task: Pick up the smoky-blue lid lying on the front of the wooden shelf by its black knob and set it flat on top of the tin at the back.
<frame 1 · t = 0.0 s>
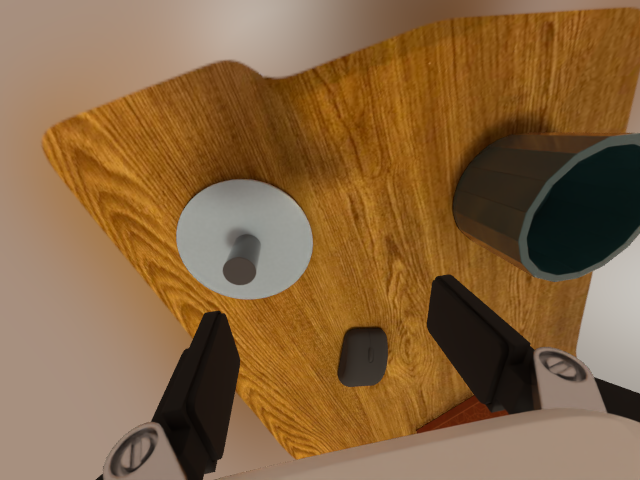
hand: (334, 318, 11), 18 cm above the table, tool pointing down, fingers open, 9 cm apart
tin: (504, 192, 30), on the table
book: (470, 408, 50), on the table
lid: (248, 243, 28), point 1 cm above the table
computer mouse: (359, 353, 39), on the table
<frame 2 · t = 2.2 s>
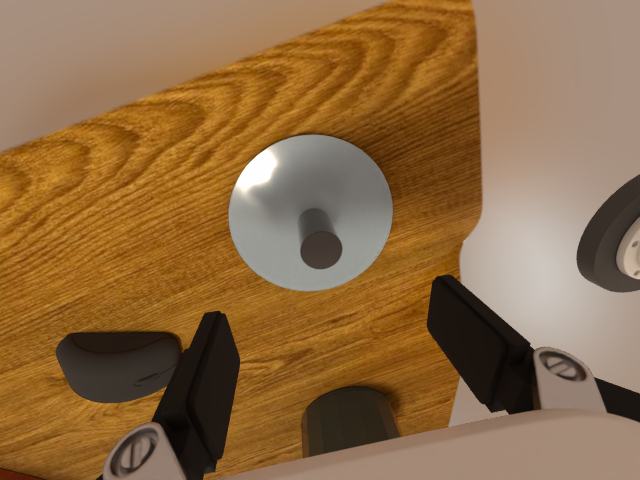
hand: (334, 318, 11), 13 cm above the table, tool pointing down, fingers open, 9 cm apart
tin: (346, 416, 36), on the table
lid: (313, 221, 22), point 1 cm above the table
computer mouse: (128, 352, 27), on the table
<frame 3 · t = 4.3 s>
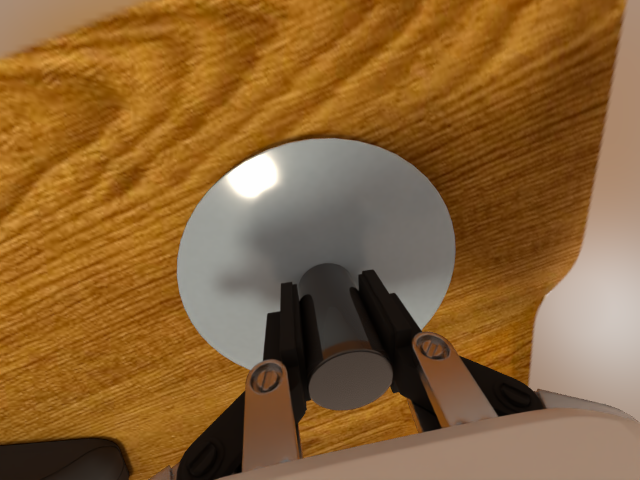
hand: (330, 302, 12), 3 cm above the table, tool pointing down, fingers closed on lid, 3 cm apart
lid: (324, 280, 14), point 1 cm above the table, touching gripper
computer mouse: (44, 465, 18), on the table
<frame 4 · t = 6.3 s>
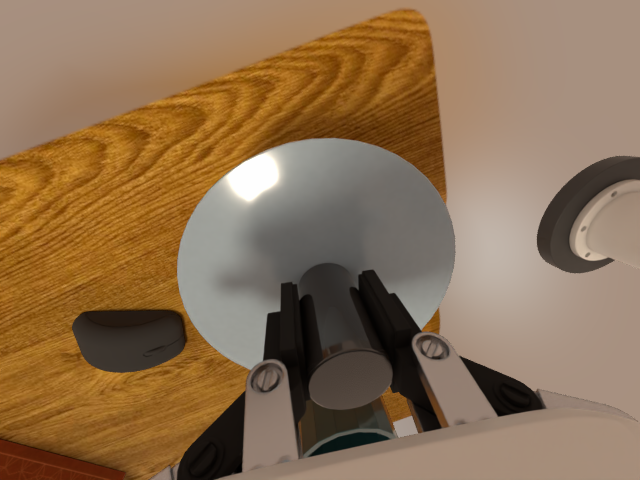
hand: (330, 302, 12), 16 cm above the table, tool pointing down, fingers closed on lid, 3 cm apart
tin: (335, 390, 40), on the table
book: (45, 466, 38), on the table
lid: (324, 280, 14), point 14 cm above the table, touching gripper
computer mouse: (136, 329, 30), on the table
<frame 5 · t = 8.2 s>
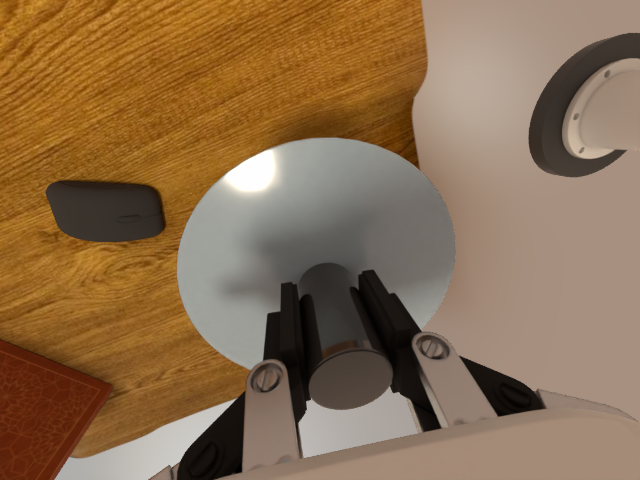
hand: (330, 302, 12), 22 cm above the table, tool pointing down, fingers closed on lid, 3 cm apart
book: (31, 371, 38), on the table
lid: (324, 280, 14), point 20 cm above the table, touching gripper
computer mouse: (113, 208, 30), on the table
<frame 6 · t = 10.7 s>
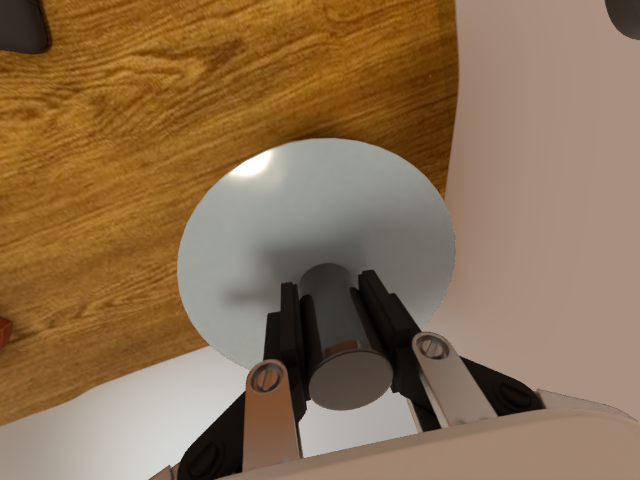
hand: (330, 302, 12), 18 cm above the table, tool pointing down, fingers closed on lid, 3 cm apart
lid: (324, 280, 14), point 16 cm above the table, touching gripper
when the fingers open (11 cm above the table, at t = 12.4 s): lid stays where it is, resting on tin.
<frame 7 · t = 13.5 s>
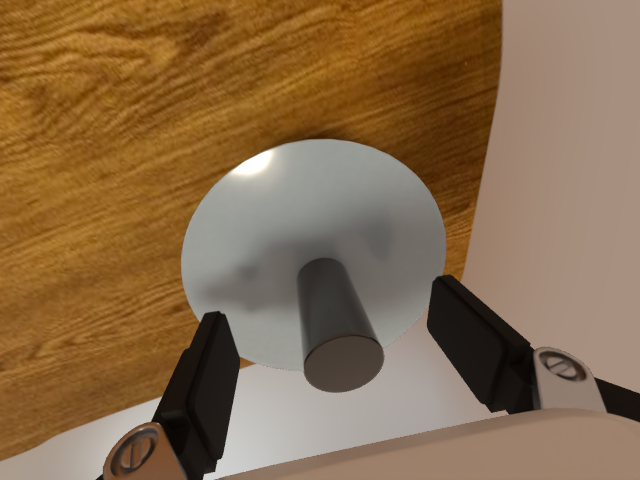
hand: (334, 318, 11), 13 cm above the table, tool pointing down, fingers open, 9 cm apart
lid: (321, 274, 14), point 9 cm above the table, touching tin
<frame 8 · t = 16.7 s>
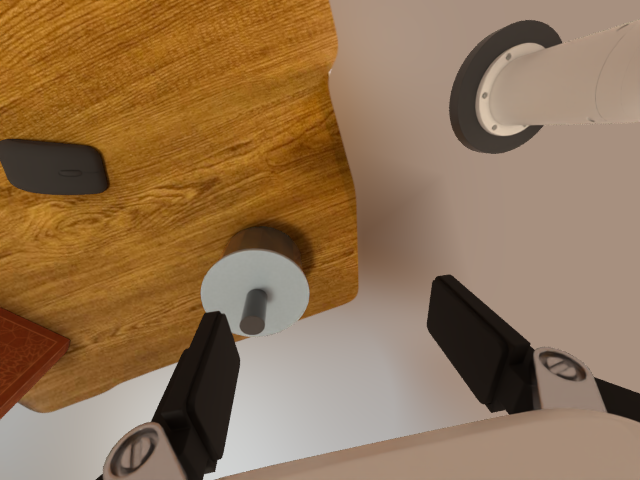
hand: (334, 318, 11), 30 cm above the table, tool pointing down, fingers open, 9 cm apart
tin: (262, 261, 43), on the table
lid: (257, 294, 34), point 9 cm above the table, touching tin
computer mouse: (60, 166, 33), on the table
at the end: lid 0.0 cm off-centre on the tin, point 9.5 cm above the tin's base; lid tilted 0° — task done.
